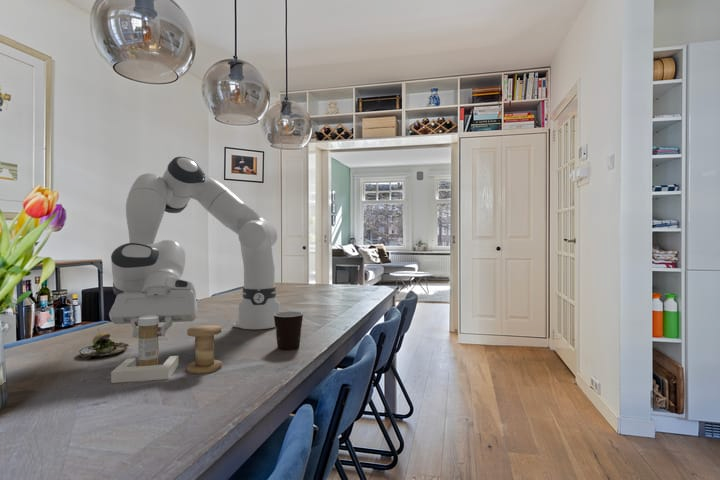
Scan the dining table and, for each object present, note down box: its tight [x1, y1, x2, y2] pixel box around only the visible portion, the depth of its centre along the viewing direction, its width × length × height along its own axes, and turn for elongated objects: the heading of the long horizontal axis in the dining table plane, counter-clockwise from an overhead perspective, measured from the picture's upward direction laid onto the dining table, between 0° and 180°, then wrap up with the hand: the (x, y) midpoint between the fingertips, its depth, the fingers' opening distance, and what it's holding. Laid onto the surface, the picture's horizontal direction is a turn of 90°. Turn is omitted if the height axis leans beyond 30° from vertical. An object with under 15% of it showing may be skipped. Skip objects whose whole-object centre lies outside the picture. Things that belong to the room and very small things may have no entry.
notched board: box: [110, 355, 179, 384], centre depth 95 cm, size 10×12×2 cm
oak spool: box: [186, 324, 223, 375], centre depth 99 cm, size 8×8×10 cm
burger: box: [78, 329, 130, 361], centre depth 112 cm, size 12×12×8 cm
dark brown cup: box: [274, 310, 304, 351], centre depth 120 cm, size 12×9×10 cm
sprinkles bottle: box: [137, 315, 160, 366], centre depth 97 cm, size 5×5×13 cm
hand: (148, 335), depth 97 cm, fingers closed on sprinkles bottle, 4 cm apart
